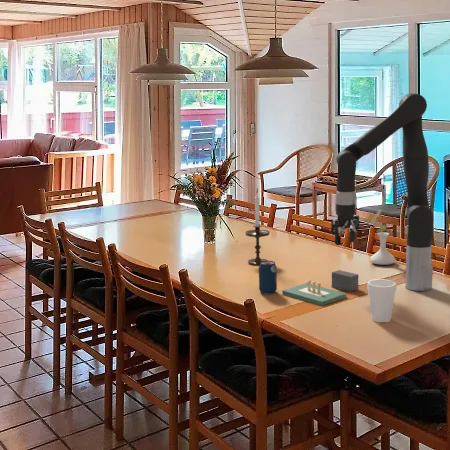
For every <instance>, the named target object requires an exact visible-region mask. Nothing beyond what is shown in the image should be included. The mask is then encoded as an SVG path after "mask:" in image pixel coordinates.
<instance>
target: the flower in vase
mask: <svg viewBox="0 0 450 450" xmlns="http://www.w3.org/2000/svg"><path fill="white" fill-rule="evenodd" d="M381 213H382V210H381V209H378V210H377V212H376V213H375V214H374V215H373V218H372V219H371V220H370V225H371V226H372V225H374V224H375V222H376V221H378V223H379V224H380V227H378V229H377V230H376V233H377V235H378V237H379V242H380V247H379V250H378V251H377V252H375V253H374V254H373V255H371V256H370V258H369V261H370V262H371V263H372V264H375V265H379V266H383V265H384V266H385V265H387V266H389V265H392V264H395V263H396V261H397V259H396V257H395V256H394V255H392V254H391V253H390V252H389V251H388V249H387V247H386V246H387V245H386V244H387V243H386V242H387V239H388V236H390V233H389V232H385V231H387V227H386V224H384V225H382V223H381V220H380V218H379V217H380V215H381ZM380 231H381V232H380Z"/></svg>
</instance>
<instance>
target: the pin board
mask: <svg viewBox="0 0 450 450" xmlns="http://www.w3.org/2000/svg"><path fill="white" fill-rule="evenodd" d="M321 284H322V283H321V282H317V284H316V281H311V280H310V279H308V280H307V282H305V283H303V284H300V285H296V286H292V287H289V288H285V289H283V290H282V295H285V296H287V297H291V298H295V299H299V300H301V301H305V302H308V303H311V304H314V305H318V306H321V307H323V306H325V305H328V304H331V303H334V302H337V301H340V300H343V299H345V298H347V293H345V292H342V291H338V290H335V289H331V288H327V287H323V286H322V285H321Z"/></svg>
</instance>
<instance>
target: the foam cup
mask: <svg viewBox="0 0 450 450" xmlns="http://www.w3.org/2000/svg"><path fill="white" fill-rule="evenodd" d="M367 291H368V292H367V293H368V299H369V300H368V301H369V308H370V316H371V321H372V322H375V323H380V322H385V323H389V322H391V319H392V313H393V309H394V308H393V307H394V302H395V301H394V300H395V296H396V295H395V294H396V291H397V282H396V281H394V280H392V279H383V278H377V279H375V278H374V279H370V280H368V281H367Z"/></svg>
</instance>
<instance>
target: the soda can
mask: <svg viewBox="0 0 450 450" xmlns="http://www.w3.org/2000/svg"><path fill="white" fill-rule="evenodd" d="M277 281H278V279H277V265H276V261H273V260H268V261H262V262H260V265H258V290H259V291H260V293H261V294H263V293H264V295H273V294H276V292H277V290H278V289H277V288H278V286H277V285H278V282H277Z"/></svg>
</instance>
